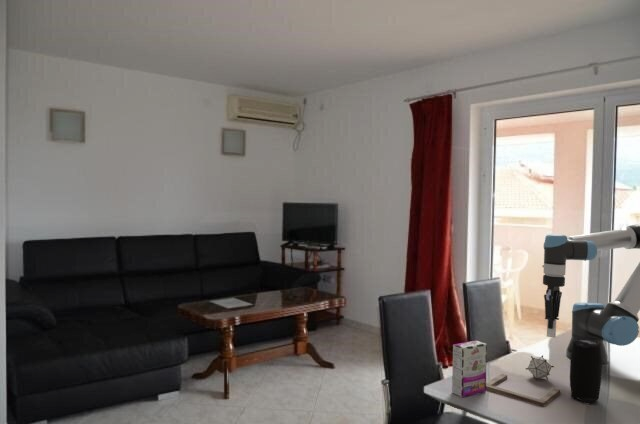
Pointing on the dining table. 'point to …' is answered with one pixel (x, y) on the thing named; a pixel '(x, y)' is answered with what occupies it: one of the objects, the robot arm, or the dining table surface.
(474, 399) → the dining table surface
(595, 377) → the portable speaker
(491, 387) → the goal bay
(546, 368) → the game die
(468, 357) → the candy bar box
